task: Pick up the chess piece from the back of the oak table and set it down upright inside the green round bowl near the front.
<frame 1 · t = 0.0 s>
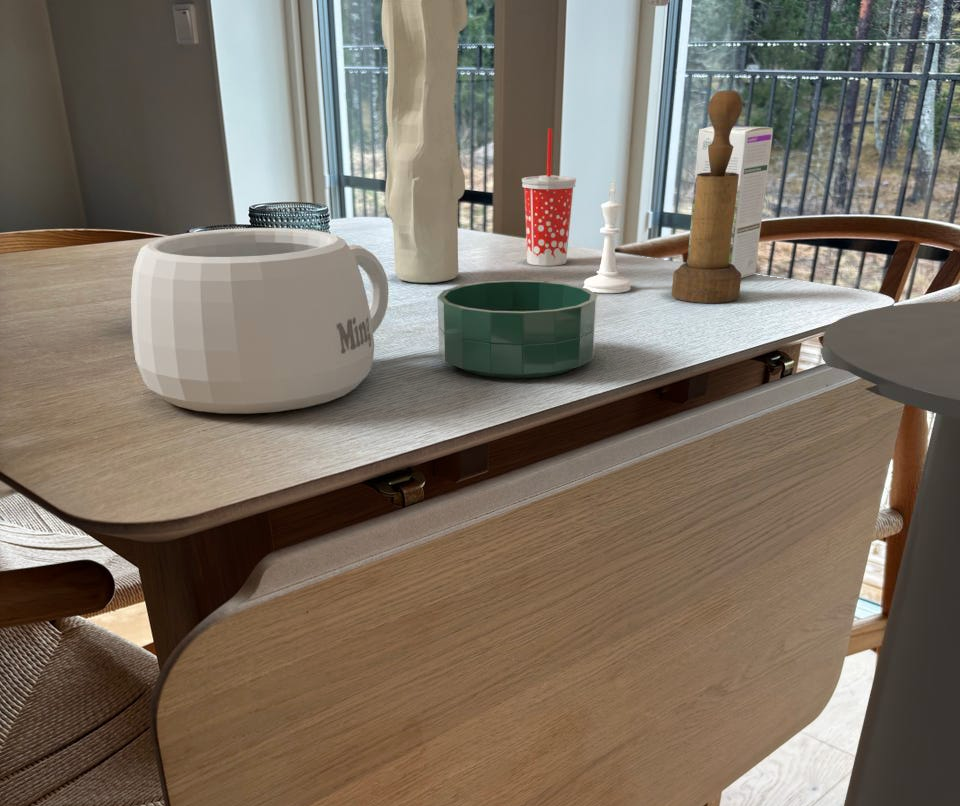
hand: (652, 3, 80), 24 cm above the table, tool pointing down, fingers open, 8 cm apart
chess piece: (606, 290, 102), on the table
beverage cup: (546, 264, 115), on the table
syrup box: (720, 276, 108), on the table
mortar and pestle: (704, 298, 98), on the table
vase: (426, 281, 107), on the table
green round bowl: (516, 361, 77), on the table
mug: (287, 383, 73), on the table
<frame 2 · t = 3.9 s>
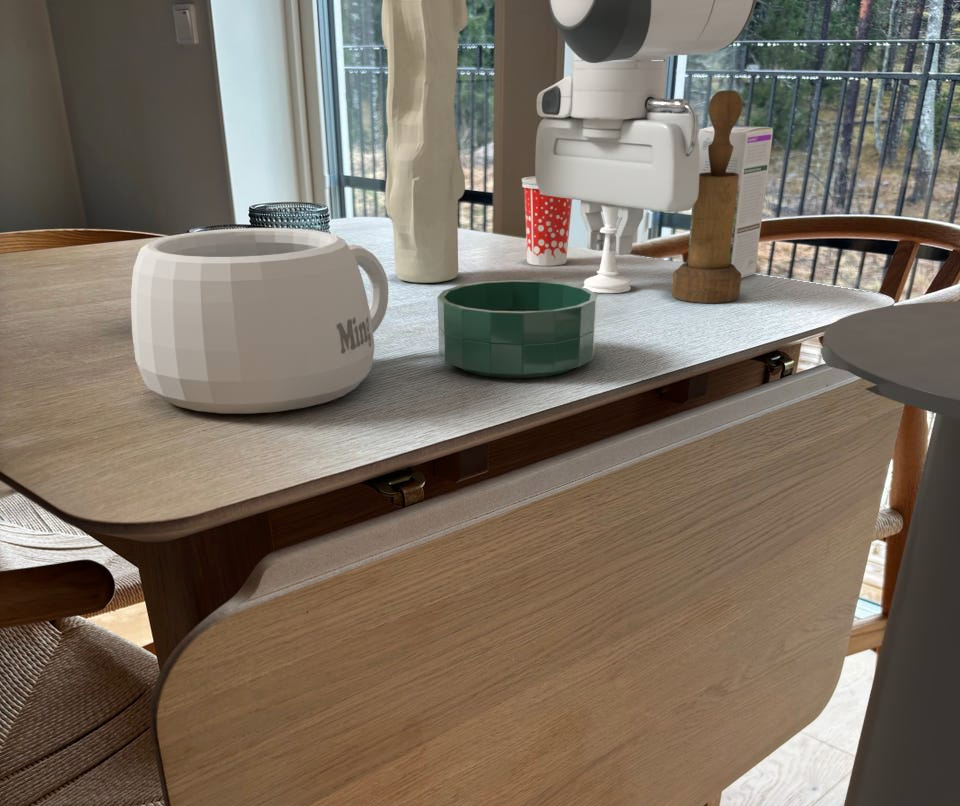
hand: (608, 251, 100), 4 cm above the table, tool pointing down, fingers closed on chess piece
chess piece: (606, 290, 102), on the table, touching gripper
everything else where it was.
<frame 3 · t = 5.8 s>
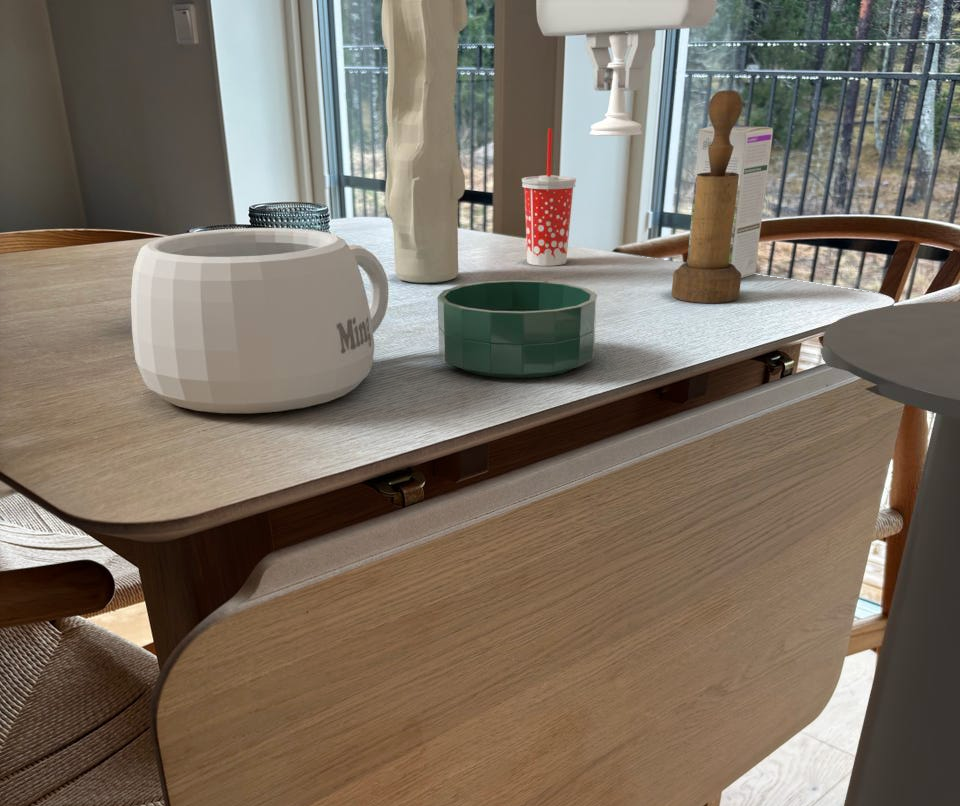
hand: (617, 90, 91), 18 cm above the table, tool pointing down, fingers closed on chess piece
chess piece: (615, 136, 93), point 14 cm above the table, touching gripper
everything else where it was.
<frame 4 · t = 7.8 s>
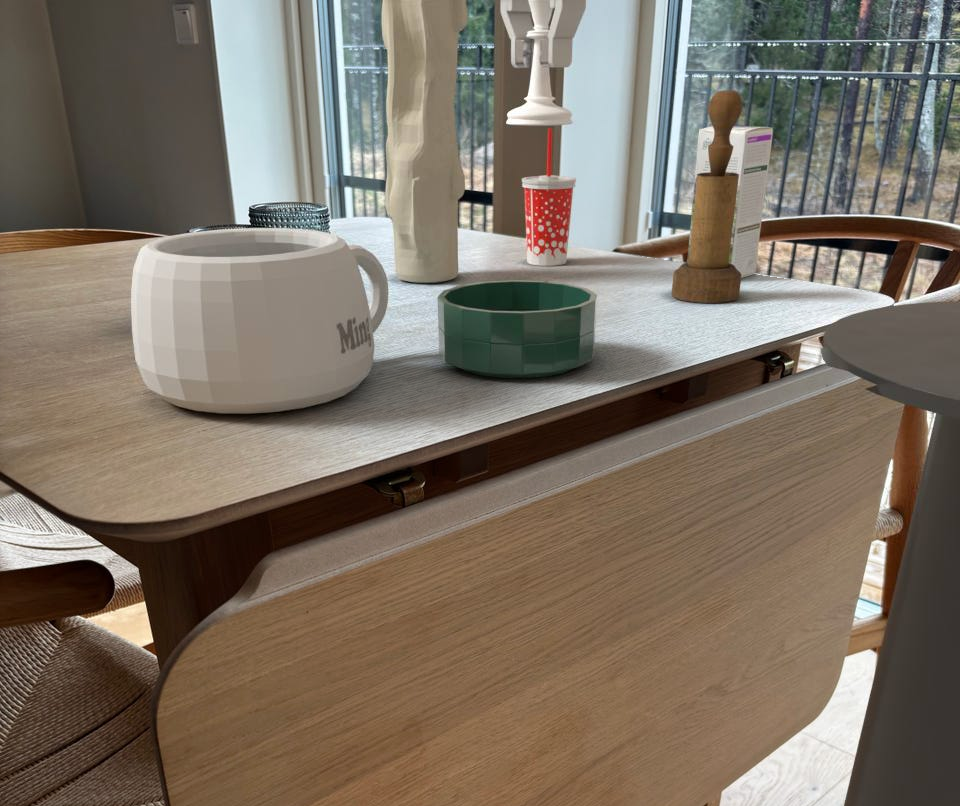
hand: (540, 67, 71), 20 cm above the table, tool pointing down, fingers closed on chess piece
chess piece: (539, 126, 73), point 16 cm above the table, touching gripper
everything else where it was.
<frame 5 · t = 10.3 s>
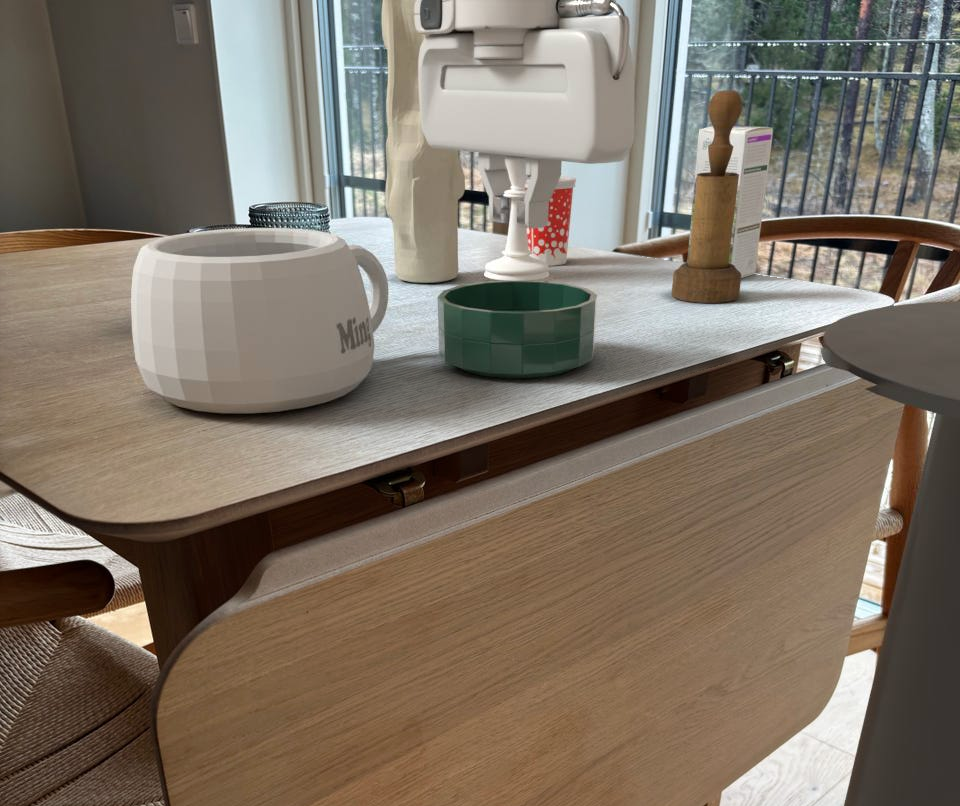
hand: (517, 224, 72), 10 cm above the table, tool pointing down, fingers closed on chess piece
chess piece: (516, 278, 74), point 6 cm above the table, touching gripper
everything else where it was.
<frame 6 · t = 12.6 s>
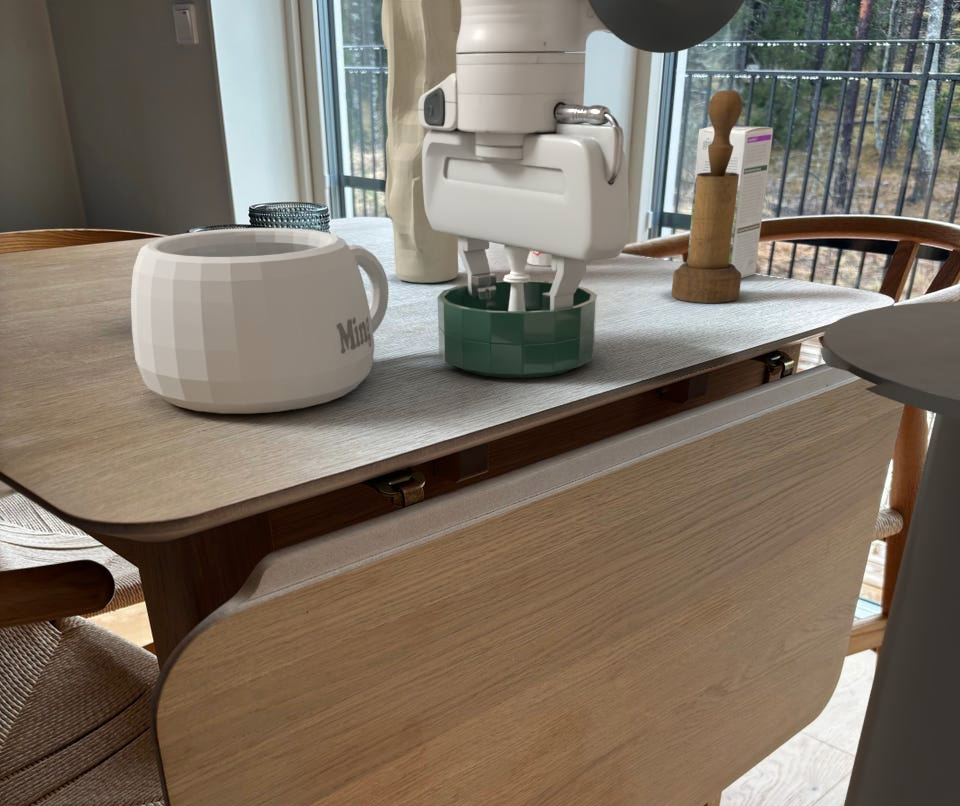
hand: (518, 307, 75), 4 cm above the table, tool pointing down, fingers open, 8 cm apart
chess piece: (516, 356, 77), resting on green round bowl
everything else where it was.
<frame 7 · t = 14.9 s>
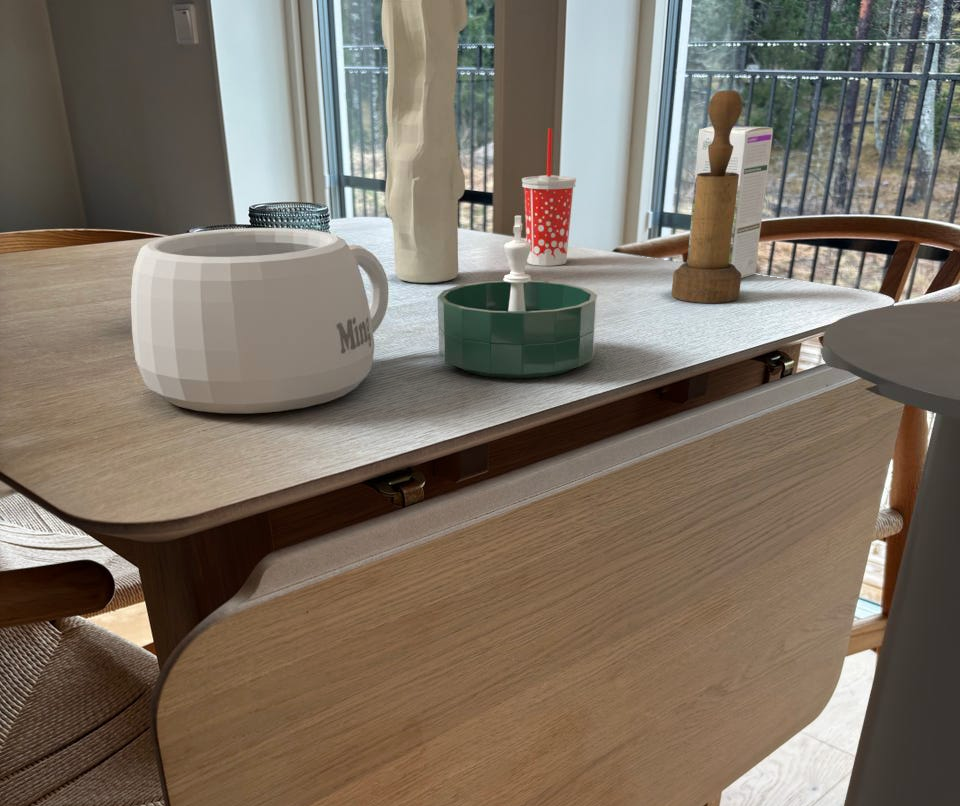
nothing on the table moved.
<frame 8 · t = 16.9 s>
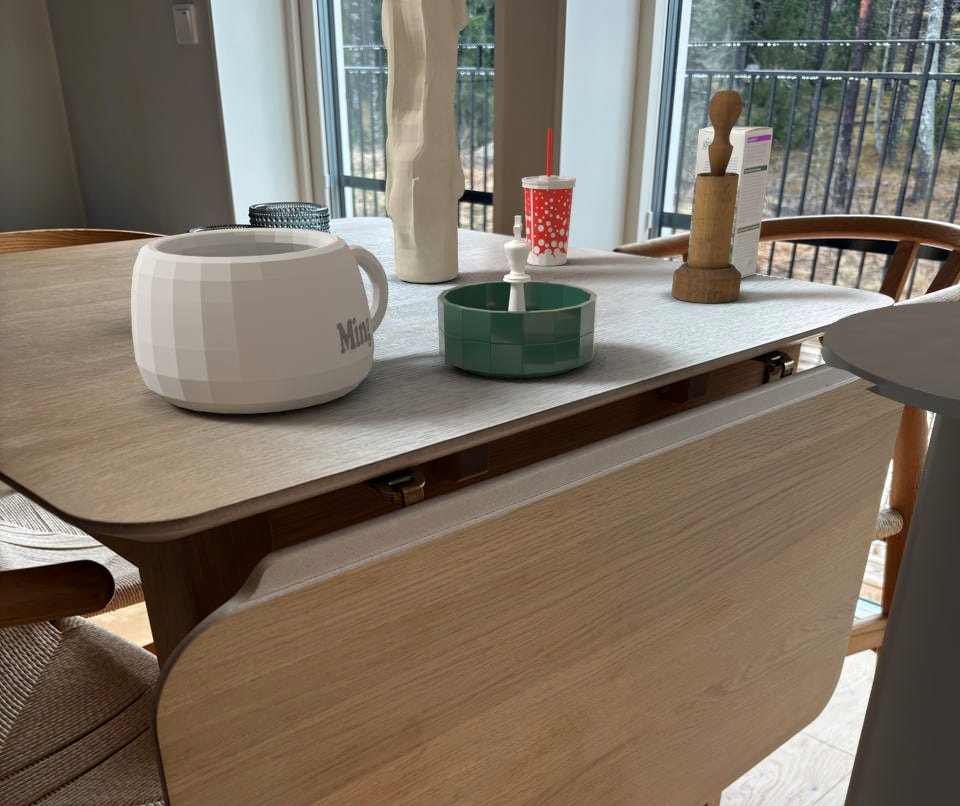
nothing on the table moved.
at the end: chess piece inside the target area in the green round bowl (0.1 cm from its centre), point 0.4 cm above the green round bowl's base; chess piece tilted 0°; the gripper is holding nothing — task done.
